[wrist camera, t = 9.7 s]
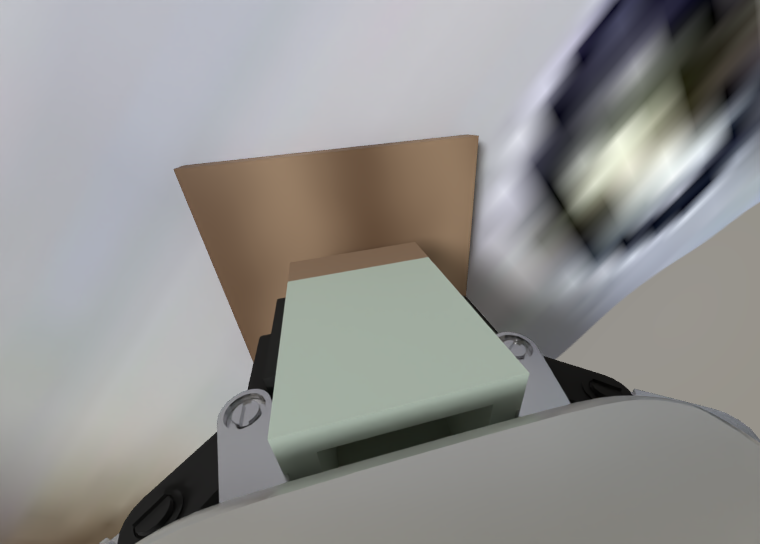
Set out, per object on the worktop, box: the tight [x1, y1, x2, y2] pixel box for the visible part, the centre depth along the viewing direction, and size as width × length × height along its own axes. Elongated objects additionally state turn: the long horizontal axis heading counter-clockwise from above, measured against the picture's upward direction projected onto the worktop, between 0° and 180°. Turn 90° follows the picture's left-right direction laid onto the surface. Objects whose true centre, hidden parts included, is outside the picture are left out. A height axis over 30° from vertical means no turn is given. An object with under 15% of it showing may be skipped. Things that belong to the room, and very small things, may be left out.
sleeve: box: [267, 242, 529, 481], centre depth 9 cm, size 5×5×7 cm
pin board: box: [174, 135, 479, 362], centre depth 13 cm, size 12×12×6 cm
